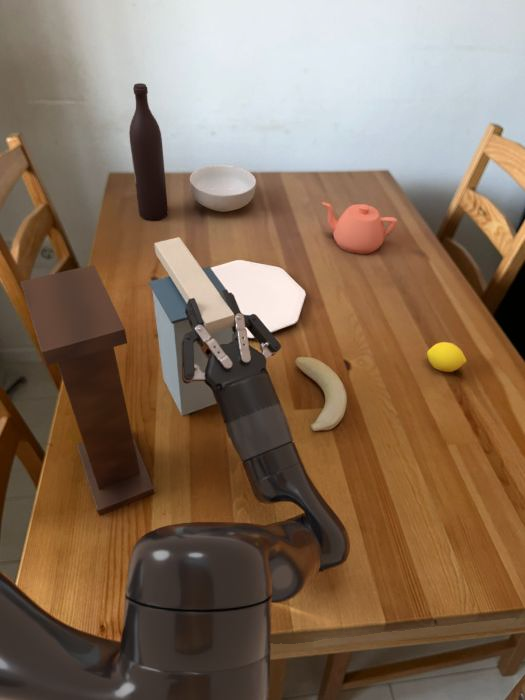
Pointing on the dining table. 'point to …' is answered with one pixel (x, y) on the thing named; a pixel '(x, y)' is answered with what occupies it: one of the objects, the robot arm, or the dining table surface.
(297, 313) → the plate
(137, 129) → the wine bottle
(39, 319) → the stand
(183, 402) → the container
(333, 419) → the fruit
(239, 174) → the cereal bowl
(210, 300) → the slat
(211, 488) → the dining table surface
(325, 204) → the teapot
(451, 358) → the lemon
